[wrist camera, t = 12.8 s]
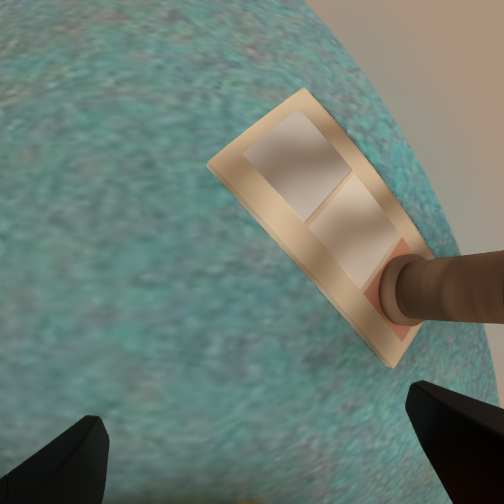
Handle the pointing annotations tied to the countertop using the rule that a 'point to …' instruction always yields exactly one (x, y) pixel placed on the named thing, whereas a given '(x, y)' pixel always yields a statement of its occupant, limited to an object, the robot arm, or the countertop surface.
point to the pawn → (443, 289)
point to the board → (324, 212)
